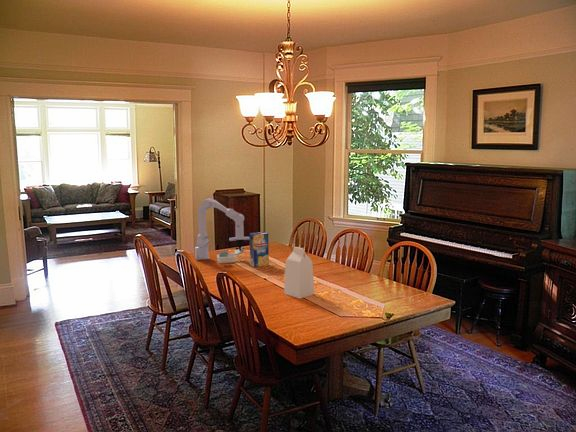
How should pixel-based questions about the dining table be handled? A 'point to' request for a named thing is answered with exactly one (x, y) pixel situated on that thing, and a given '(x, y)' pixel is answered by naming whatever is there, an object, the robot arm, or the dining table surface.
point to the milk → (298, 274)
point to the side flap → (239, 251)
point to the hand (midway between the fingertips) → (239, 250)
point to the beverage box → (259, 249)
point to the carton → (226, 258)
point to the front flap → (223, 254)
